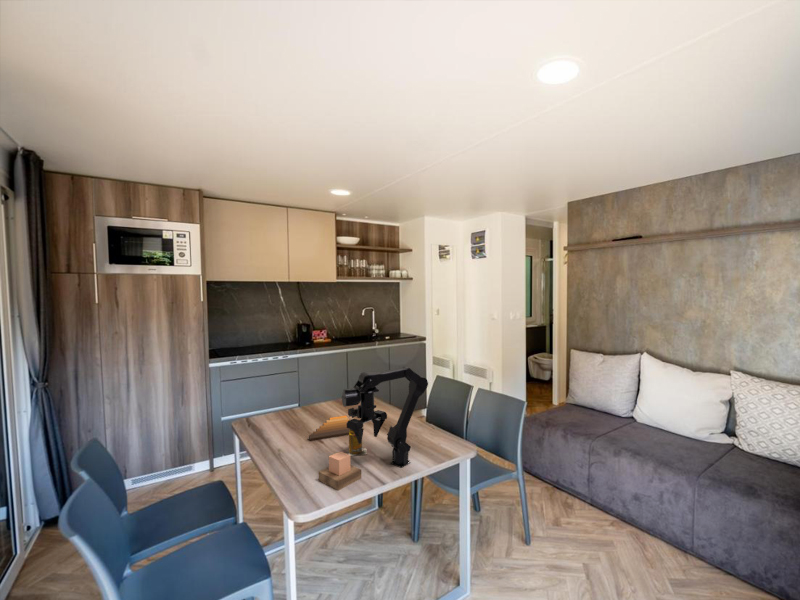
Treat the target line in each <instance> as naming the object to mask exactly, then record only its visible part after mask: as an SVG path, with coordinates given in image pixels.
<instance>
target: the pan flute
mask: <svg viewBox="0 0 800 600" xmlns="http://www.w3.org/2000/svg"><path fill="white" fill-rule="evenodd" d="M349 420H351V419H349V416H348V417H347V415H340V416H334V417H329V418H328V419H326V421H325V422H323V423H322V425H320V426H319V428H318V427H317V428H316V430H315V431H312V434H309V435H308V440H309V441H308V442H315V441H321V440H326V439H332V438H338V437H339V438H340V437H344V436H349V433H350V429H349V428H347V422H348V421H349Z"/></svg>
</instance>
